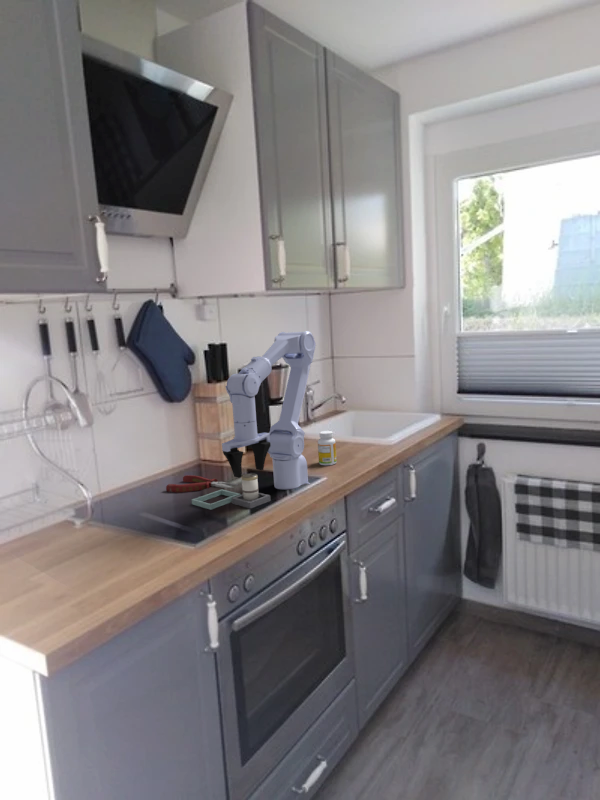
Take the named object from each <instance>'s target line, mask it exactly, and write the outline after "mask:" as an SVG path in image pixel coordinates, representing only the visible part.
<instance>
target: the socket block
mask: <svg viewBox="0 0 600 800" xmlns="http://www.w3.org/2000/svg"><path fill="white" fill-rule="evenodd" d="M258 493H259V499H256V500H253V501H251V502H250V501H246V500H243V493H242V494H241V495H239V496H237V497H234V498H232V502H231V504H233V505H237V506H240V507H242V508H243V507H244V508H246V509H247V508H248V509H253V508H256V507H259V506H261V505H264V504H266V503H269V502H271V495H270V494H265V493H262V492H258Z"/></svg>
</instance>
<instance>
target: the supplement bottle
mask: <svg viewBox="0 0 600 800" xmlns="http://www.w3.org/2000/svg"><path fill="white" fill-rule="evenodd" d="M318 435H319V439H317V450H318V451H317V452H318V464H319V465H320V466H333V465H335V464H337V448H336V446H337V445H336V443H337V442H336V439H335V438H333V437H334V432H333V431H332V430H322V431H319V434H318Z"/></svg>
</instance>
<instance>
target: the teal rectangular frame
mask: <svg viewBox="0 0 600 800" xmlns="http://www.w3.org/2000/svg"><path fill="white" fill-rule="evenodd" d="M239 495H242V494H241V493H238V492H235V491H230V490H226V489H222V488H221V489H219V490H216V491H213V492H210V493H206V494H204V495H202V496H198V497H194V498H192V499H191V505H194V506H195V507H196V506H197V507H200V508H203V509H206V510H207V509H208V510H214V509H216V508H219V507H221V506H224V505H228V504H231V503H232V498H234V497H237V496H239ZM219 496H226V498H224V499H220V500H218V501H215V502H212V503H208V502H205V501H207V500H212V499H214V498H216V497H219Z"/></svg>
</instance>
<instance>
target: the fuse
mask: <svg viewBox="0 0 600 800" xmlns="http://www.w3.org/2000/svg"><path fill="white" fill-rule="evenodd" d="M258 478H259V477H258V474H257V473H245V474H242V476H241V477H240V479H241V485H242V486H241V487H242V489H241V490H242V494H243V500H246V501H250V502H251V501H253V500H256V499H259V493H260V492H259V482H258Z"/></svg>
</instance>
